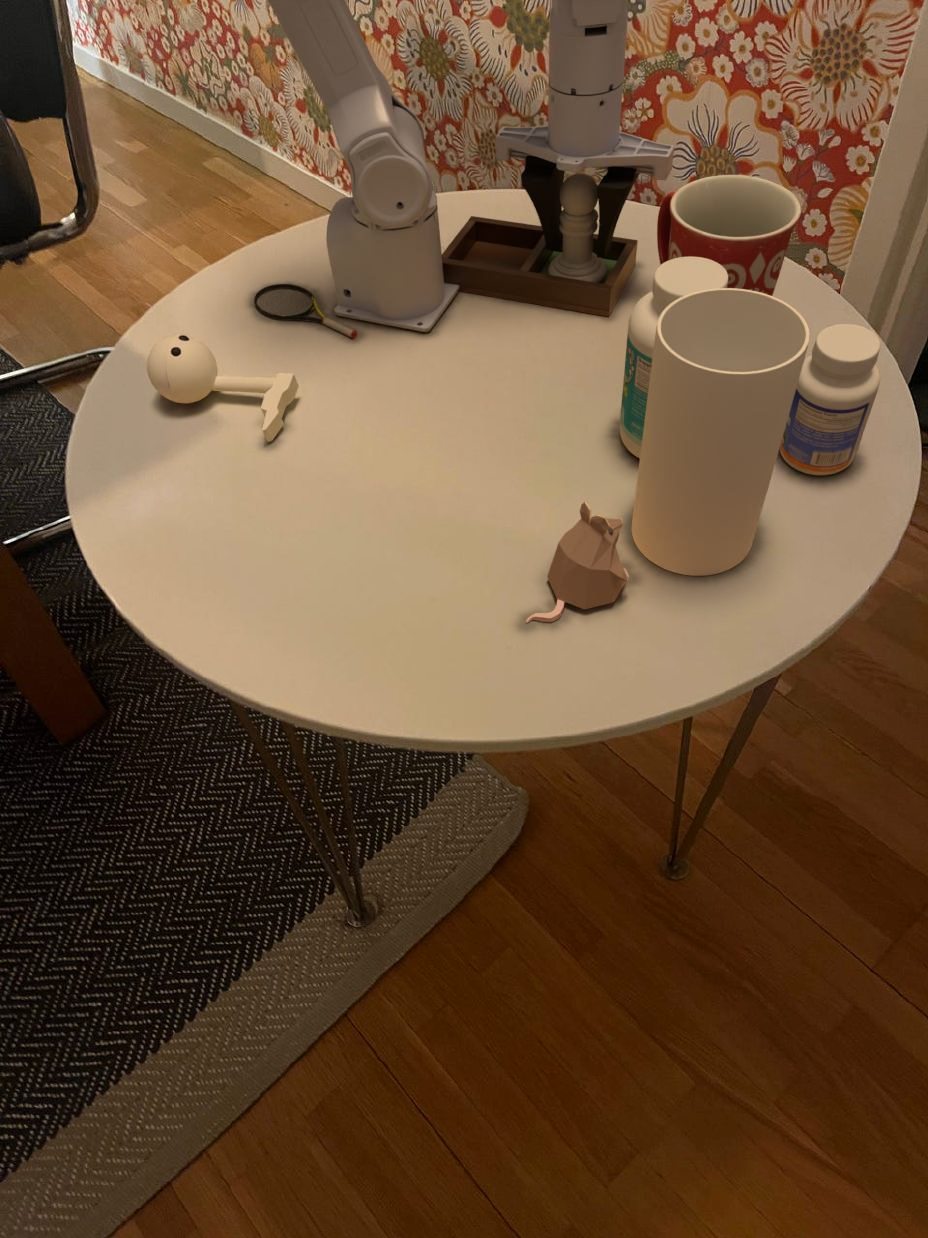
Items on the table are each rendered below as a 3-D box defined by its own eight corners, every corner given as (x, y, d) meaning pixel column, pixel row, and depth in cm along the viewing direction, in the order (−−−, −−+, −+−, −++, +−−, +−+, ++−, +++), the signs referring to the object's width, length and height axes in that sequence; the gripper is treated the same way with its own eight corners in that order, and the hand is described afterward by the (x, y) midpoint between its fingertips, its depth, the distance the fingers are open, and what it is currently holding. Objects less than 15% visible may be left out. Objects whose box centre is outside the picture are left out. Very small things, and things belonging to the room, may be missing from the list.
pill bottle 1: (647, 396, 70) (667, 233, 60) (734, 427, 67) (771, 262, 57) (599, 449, 67) (612, 286, 56) (688, 484, 64) (719, 319, 53)
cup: (725, 593, 57) (779, 391, 45) (611, 548, 61) (631, 347, 48) (770, 514, 62) (831, 309, 49) (661, 476, 65) (691, 274, 52)
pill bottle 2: (798, 418, 67) (826, 306, 60) (867, 443, 65) (906, 330, 57) (764, 460, 65) (789, 349, 57) (835, 488, 63) (870, 376, 55)
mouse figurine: (500, 599, 58) (497, 528, 53) (591, 542, 61) (596, 469, 56) (552, 648, 56) (554, 578, 50) (644, 585, 58) (655, 513, 53)
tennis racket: (240, 298, 82) (280, 275, 84) (242, 305, 83) (282, 281, 85) (332, 344, 76) (373, 317, 79) (334, 351, 77) (374, 324, 79)
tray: (608, 316, 78) (610, 289, 76) (438, 287, 82) (435, 261, 80) (635, 266, 82) (637, 239, 80) (472, 241, 87) (471, 215, 85)
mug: (785, 382, 70) (829, 217, 60) (684, 413, 69) (712, 249, 58) (702, 302, 78) (729, 143, 68) (610, 329, 76) (623, 170, 66)
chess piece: (557, 295, 79) (559, 195, 72) (541, 265, 82) (541, 166, 75) (614, 285, 79) (622, 184, 72) (596, 255, 82) (602, 156, 75)
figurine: (149, 317, 71) (287, 321, 69) (177, 368, 76) (307, 373, 74) (112, 391, 68) (257, 398, 65) (144, 439, 72) (280, 447, 70)
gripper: (479, 92, 68) (486, 259, 78) (665, 111, 64) (646, 284, 74) (511, 57, 72) (513, 220, 82) (688, 73, 68) (667, 242, 78)
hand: (578, 248), depth 79 cm, fingers open, 4 cm apart
